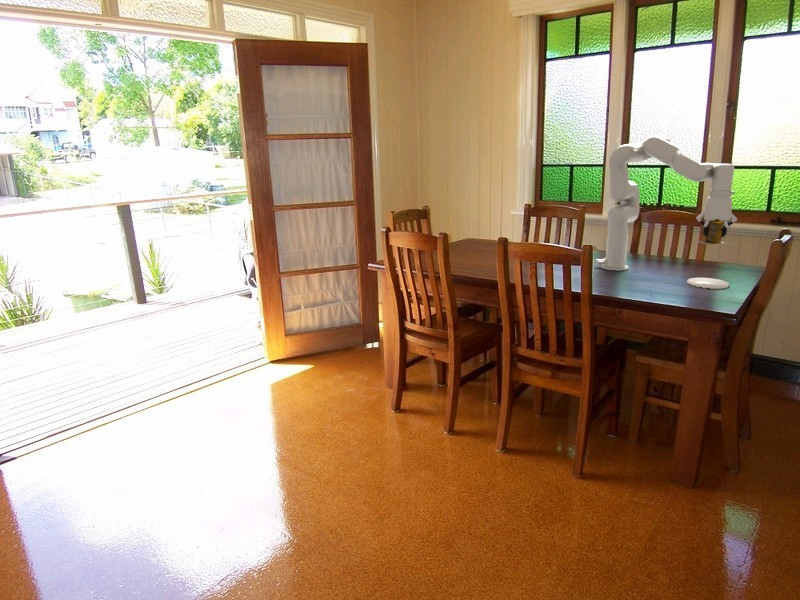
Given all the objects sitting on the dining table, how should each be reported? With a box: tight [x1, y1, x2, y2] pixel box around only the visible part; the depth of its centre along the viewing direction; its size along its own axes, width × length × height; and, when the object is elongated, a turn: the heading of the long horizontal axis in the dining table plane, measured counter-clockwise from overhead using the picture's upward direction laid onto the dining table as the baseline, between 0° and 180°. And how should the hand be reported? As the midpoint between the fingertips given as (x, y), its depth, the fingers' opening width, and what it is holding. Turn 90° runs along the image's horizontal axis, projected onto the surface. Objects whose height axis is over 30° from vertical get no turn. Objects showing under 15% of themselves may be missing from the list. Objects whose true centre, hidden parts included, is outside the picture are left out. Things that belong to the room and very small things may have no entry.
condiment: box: [697, 219, 726, 245], centre depth 232 cm, size 7×8×12 cm
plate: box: [686, 277, 730, 290], centre depth 239 cm, size 16×16×1 cm
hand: (714, 235), depth 233 cm, fingers closed on condiment, 6 cm apart
